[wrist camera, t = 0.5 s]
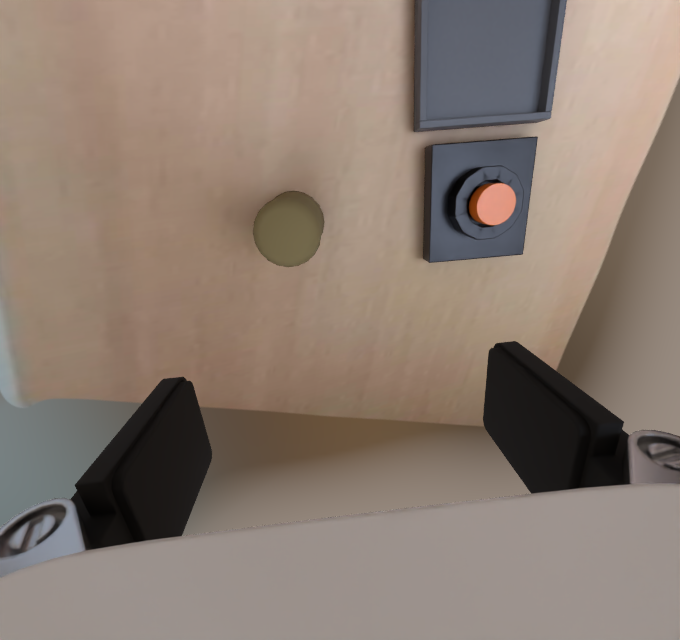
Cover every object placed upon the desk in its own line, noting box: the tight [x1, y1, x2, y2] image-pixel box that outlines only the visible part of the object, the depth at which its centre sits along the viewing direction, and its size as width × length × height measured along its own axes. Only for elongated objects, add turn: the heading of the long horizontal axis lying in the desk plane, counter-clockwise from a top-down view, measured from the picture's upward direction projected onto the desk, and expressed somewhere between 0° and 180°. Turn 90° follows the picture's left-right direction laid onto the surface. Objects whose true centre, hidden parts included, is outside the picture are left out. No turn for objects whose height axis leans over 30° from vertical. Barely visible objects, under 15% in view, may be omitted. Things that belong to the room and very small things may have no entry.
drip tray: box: [414, 0, 567, 132], centre depth 29 cm, size 15×12×2 cm
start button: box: [469, 183, 516, 225], centre depth 31 cm, size 4×4×2 cm
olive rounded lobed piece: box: [253, 191, 324, 267], centre depth 29 cm, size 6×6×11 cm
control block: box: [423, 137, 538, 263], centre depth 33 cm, size 11×10×4 cm
